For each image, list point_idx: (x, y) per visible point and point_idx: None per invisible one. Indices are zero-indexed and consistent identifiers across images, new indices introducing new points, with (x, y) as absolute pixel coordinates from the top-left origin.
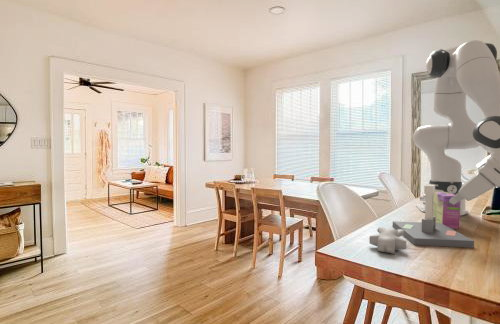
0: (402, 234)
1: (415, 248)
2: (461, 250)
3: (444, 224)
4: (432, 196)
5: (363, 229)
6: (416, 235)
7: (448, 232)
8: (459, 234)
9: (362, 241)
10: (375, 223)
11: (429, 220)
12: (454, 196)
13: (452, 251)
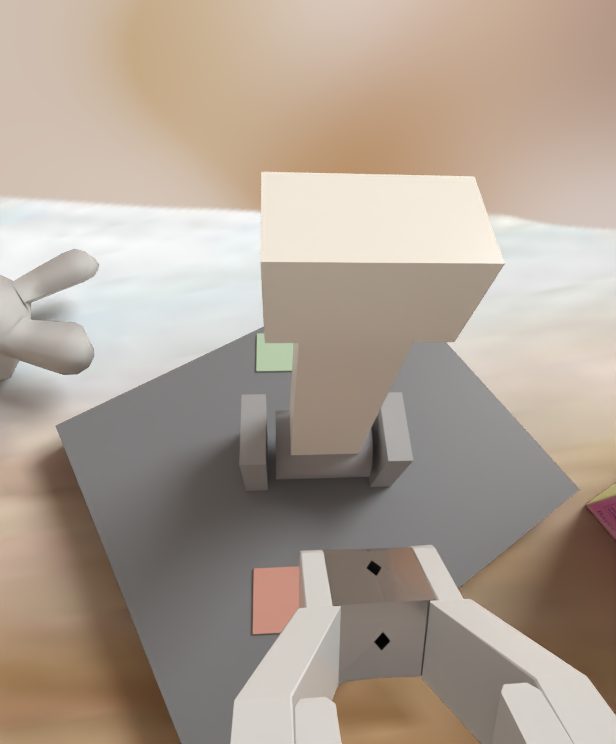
0: (45, 364)
1: (5, 458)
2: (94, 700)
3: (611, 512)
4: (324, 352)
5: (225, 215)
6: (127, 424)
7: None
8: None
9: (15, 255)
10: None
11: (240, 443)
12: (286, 626)
13: (40, 649)
